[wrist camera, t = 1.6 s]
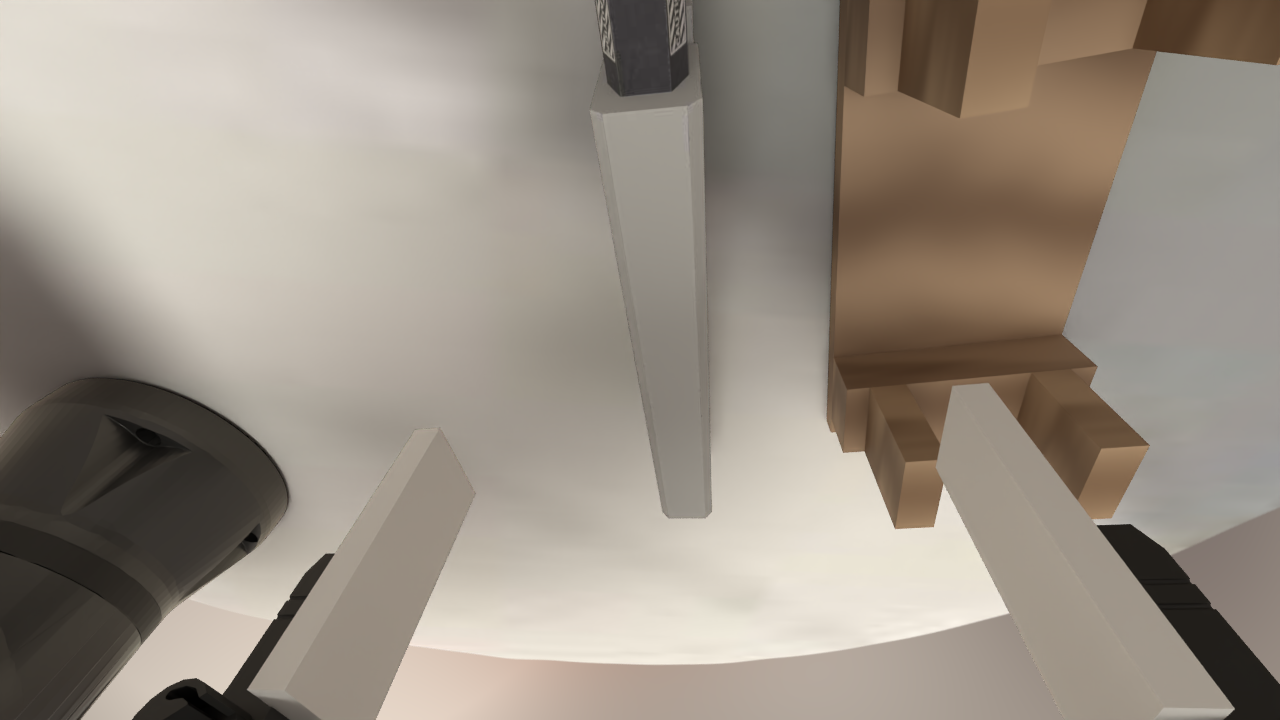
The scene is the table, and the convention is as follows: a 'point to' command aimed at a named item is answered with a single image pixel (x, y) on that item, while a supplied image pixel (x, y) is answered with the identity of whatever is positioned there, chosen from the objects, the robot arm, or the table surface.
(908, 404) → the display stand
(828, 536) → the table surface
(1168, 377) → the table surface
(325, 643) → the robot arm
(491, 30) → the table surface
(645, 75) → the gun
